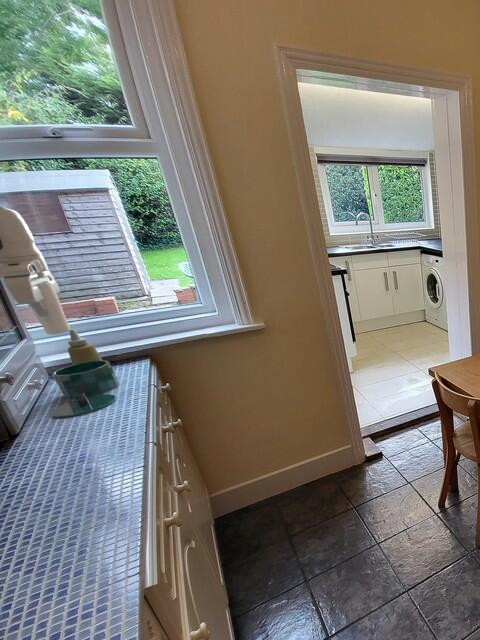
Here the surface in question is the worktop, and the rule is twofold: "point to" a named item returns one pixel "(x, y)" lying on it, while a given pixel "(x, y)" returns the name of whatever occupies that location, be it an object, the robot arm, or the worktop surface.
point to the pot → (86, 378)
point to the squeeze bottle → (81, 349)
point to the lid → (83, 405)
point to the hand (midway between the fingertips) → (49, 313)
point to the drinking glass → (52, 311)
